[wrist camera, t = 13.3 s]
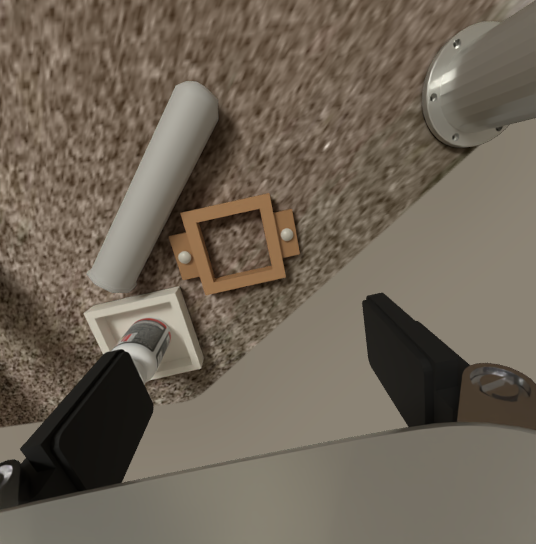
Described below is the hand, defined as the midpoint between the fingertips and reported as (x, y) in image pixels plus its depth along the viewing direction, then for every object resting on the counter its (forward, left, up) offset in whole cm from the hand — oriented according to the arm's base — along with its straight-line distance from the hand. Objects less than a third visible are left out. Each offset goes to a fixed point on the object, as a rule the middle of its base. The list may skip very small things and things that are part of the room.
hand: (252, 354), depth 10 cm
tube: (+9, -8, -27) cm, 29 cm away
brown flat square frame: (+2, +1, -26) cm, 26 cm away
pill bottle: (+17, +10, -26) cm, 32 cm away
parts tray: (+17, +11, -26) cm, 33 cm away
